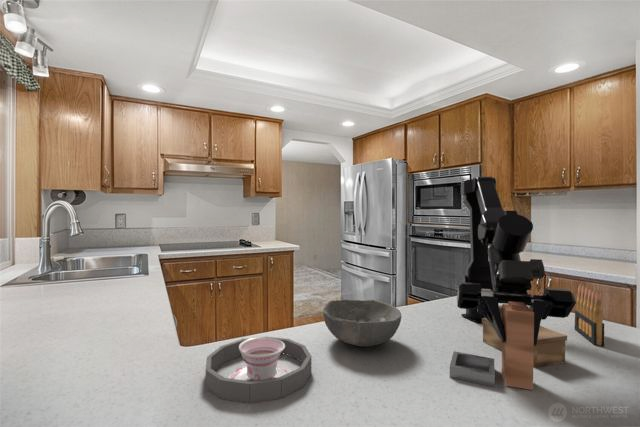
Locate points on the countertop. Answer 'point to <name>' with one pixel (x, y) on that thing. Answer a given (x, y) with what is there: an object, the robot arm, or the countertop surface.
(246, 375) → the teacup
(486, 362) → the frame
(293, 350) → the coaster ring
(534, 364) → the light brown wooden box
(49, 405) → the countertop surface
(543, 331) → the lid
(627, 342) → the countertop surface
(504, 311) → the reddish brown rectangular block
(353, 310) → the bowl
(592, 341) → the ammunition clip
